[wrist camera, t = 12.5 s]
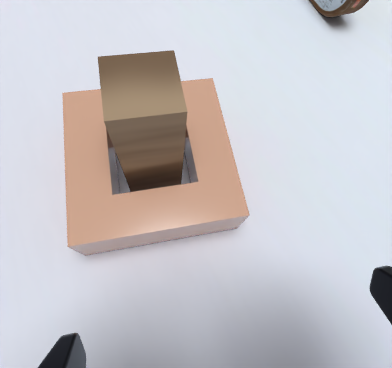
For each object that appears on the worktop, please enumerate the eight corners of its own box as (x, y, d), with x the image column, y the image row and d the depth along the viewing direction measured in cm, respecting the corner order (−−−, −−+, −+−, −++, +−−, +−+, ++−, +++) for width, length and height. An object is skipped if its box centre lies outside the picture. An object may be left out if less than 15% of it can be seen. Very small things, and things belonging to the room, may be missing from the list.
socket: (236, 228, 23) (249, 215, 20) (85, 255, 21) (67, 246, 18) (206, 107, 27) (212, 78, 24) (78, 122, 26) (62, 92, 22)
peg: (180, 190, 24) (187, 111, 14) (133, 197, 23) (103, 121, 13) (172, 149, 25) (173, 50, 15) (127, 155, 25) (97, 56, 15)
